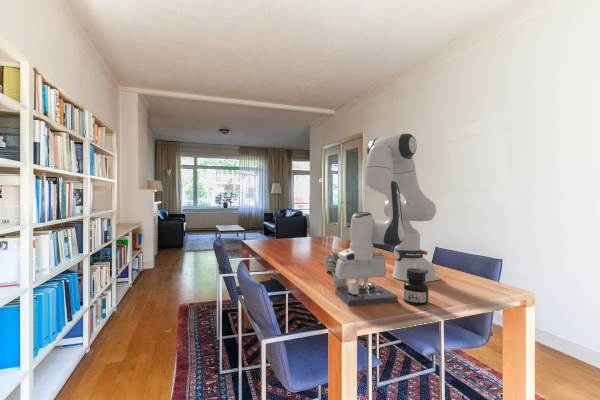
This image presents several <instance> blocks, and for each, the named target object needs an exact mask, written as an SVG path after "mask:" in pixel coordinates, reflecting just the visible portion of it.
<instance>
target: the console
mask: <svg viewBox="0 0 600 400" xmlns="http://www.w3.org/2000/svg"><path fill="white" fill-rule="evenodd" d="M359 284H362V282H359ZM334 292H335V293H334V294H335V295H336V297H338V298H339V299H340V300H341V301H343V302H344V303H345V304H346V305H347V307H354V306H355V307H356V306H364V305H365V306H366V305H368V306H369V305H376V304H377V305H378V304H379V305H380V304H391V303H398V302H399V298H398V297H399V296H397V295H396V294H394V293H392V292H391V291H389V290H388V289H386V288H385V287H383V286H382V285H375V283H374V282H367V286H366V285H365V289H358V294H351V293H350V292H349V291H348V287H338V288H335V290H334Z"/></svg>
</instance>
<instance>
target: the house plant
mask: <svg viewBox="0 0 600 400" xmlns="http://www.w3.org/2000/svg"><path fill="white" fill-rule="evenodd" d="M328 251H330V252H331V254H332V255H334V256H333V257H334V259H335V260H336V262H337V260H338V259H339V257H338V252H337V251H334V252H333V251H332V250H328ZM341 251H344V249H342V250H341ZM326 255H329V254H328V253H326ZM335 255H336V256H335ZM331 258H332V257H331ZM332 259H333V258H332ZM327 262H330V263H333V264H334V265H329V268H330V267H332V266H334V267H335V268H336V262H335V261H334V262H333V261H332V260H331V261H327ZM328 264H329V263H328ZM327 267H328V266H327ZM335 271H336V270H334V271H332V272H331V273H332V279H333V285H334V287H335V288H347V284H348V279H339V278H338V277H337V276H336V274H335Z"/></svg>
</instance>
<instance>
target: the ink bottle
mask: <svg viewBox="0 0 600 400" xmlns="http://www.w3.org/2000/svg"><path fill="white" fill-rule="evenodd" d="M425 281H426V271H425V270H423V269H417V268H409V269H407V281H404V282H403V290H402V291H403V293H402V294H403V297H402V298H403V301H404V302H405V303H407V304H411V305H416V306H425V305H428V304H429V295H430V294H429V287H430V286H429V285H428V283H427V282H425Z"/></svg>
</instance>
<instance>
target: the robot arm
mask: <svg viewBox="0 0 600 400" xmlns="http://www.w3.org/2000/svg"><path fill="white" fill-rule="evenodd" d="M417 147H418V145H417V140H416V138H415V136H414V135H412V134H411V133H401V134H391V135H388V136H382V137H379V138H374V139H372V140H370V141H369V143H368V144H367V147H366V152H367V155H368V156H367V158H366V162H365V170H364V182H365V183H366V186H367V187H368V188H370V189H371V190H373V191H375V192H377V193H380V194H381V195H383V196H385V198H386V199H387V200H386V201H385V203H384V205H383V213H384V215H385V217H387V218H388V220H381V219H374V217H373V215H372V213H371V212H369V211H357V212H355V213H353V214H352V216H351V218H350V219H351V220H350V231H349V236H350V243H349V248H347V249H343V251H342V250H341V251H339V252H337V254H338V257H339V259H338V260H337V263H336V271H335V274H336V276H337V277H338V278H339V279H347V280H351V279H353V281H355V282H356V283H358V289H365V285H366V284H368V281H369V278H370V279H371V278H384V277H385V276H386V275H387V268H386V267H387V265H386V256H385V255H386V254H384V253H383V252H374V245H373V244H377V245H385V246H388V247H393V248H395V250H394V258H395V262H394V268H393V272H392V275H391V276H392V277H393V279H396V280H400V281H404V282H406V281H407V269H409V268H417V269H423V270H425V271H426V281H425V282H426V283H427V282H433V281H439V280H442V279H441V276H440V275H438V274H437V273H436V268H435V266H434V265H433V263H431V262H430V261H429V260H427V259H426V257H424V256H427V255H428V251H427V250H422V249H421V233H420V231H418V230H417V229H416V228H414V227H413V226H412V224H411V222H428V221H432V220H433V219H434V218H435V217H436V213H437V206H436V204H435V202H433V201H432V199H430V198H428V197H427V196H426V195H425V194H424V193H423V191H422V190H421V187H420V185H419V183H418V178H417V177H418V176H417V170H416V165H415V160H414V155H415V154H416V151H417ZM401 195H402V197H401ZM360 279H362V282H361V283H362V284H359V283H360Z"/></svg>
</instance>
